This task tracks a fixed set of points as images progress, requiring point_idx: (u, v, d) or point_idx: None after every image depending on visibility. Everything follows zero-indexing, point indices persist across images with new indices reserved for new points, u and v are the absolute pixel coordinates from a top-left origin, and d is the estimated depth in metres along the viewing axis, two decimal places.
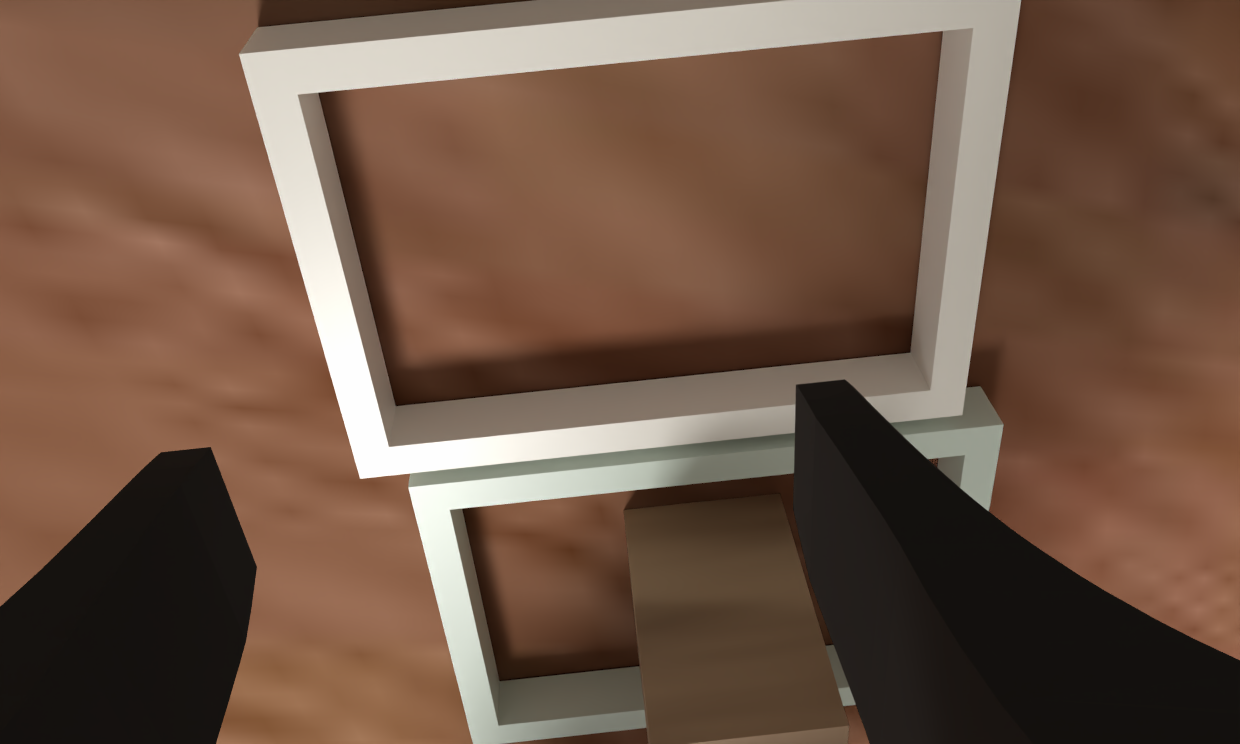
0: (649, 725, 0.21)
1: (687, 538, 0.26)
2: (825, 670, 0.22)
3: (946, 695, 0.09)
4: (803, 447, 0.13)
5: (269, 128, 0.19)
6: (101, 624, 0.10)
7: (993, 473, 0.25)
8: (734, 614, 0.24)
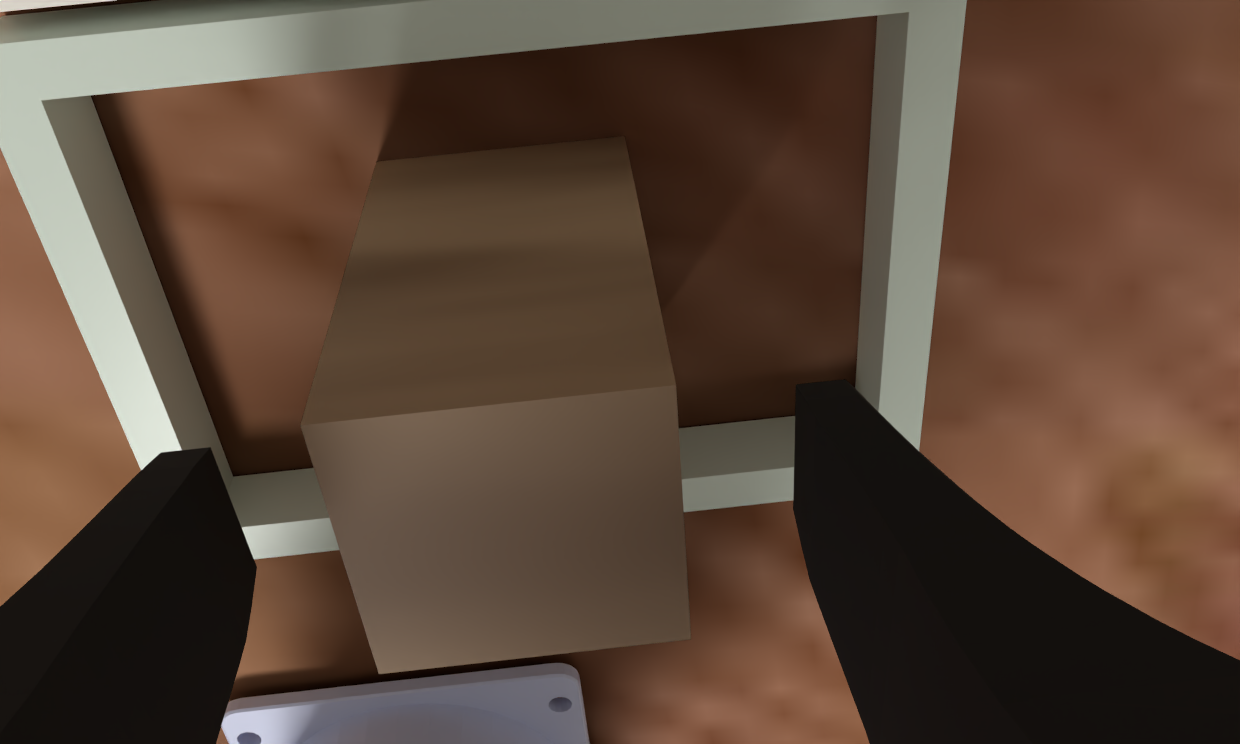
0: (310, 396, 0.12)
1: (464, 184, 0.16)
2: (649, 318, 0.12)
3: (946, 695, 0.09)
4: (803, 447, 0.13)
5: None
6: (101, 624, 0.10)
7: (958, 53, 0.15)
8: (512, 259, 0.14)
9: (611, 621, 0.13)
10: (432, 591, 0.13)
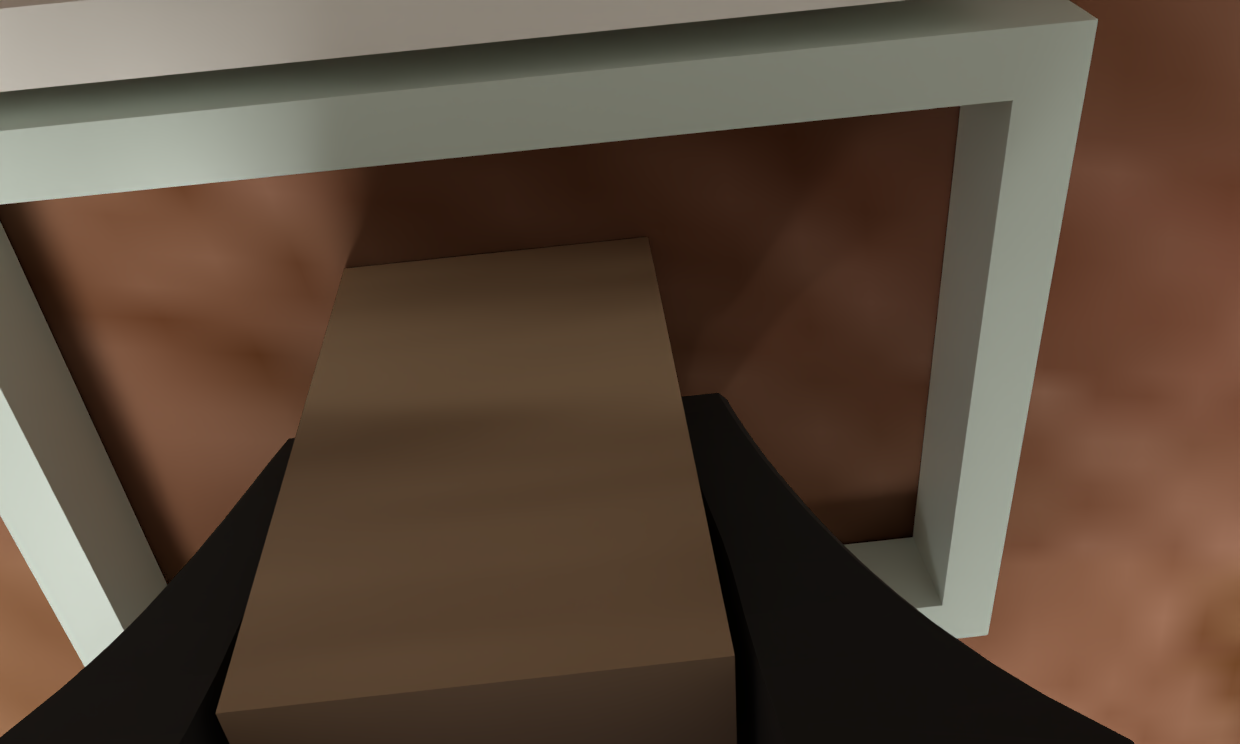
0: (234, 659, 0.09)
1: (451, 306, 0.13)
2: (692, 532, 0.09)
3: (758, 716, 0.08)
4: None
5: None
6: None
7: (1071, 149, 0.12)
8: (508, 428, 0.11)
9: None
10: None
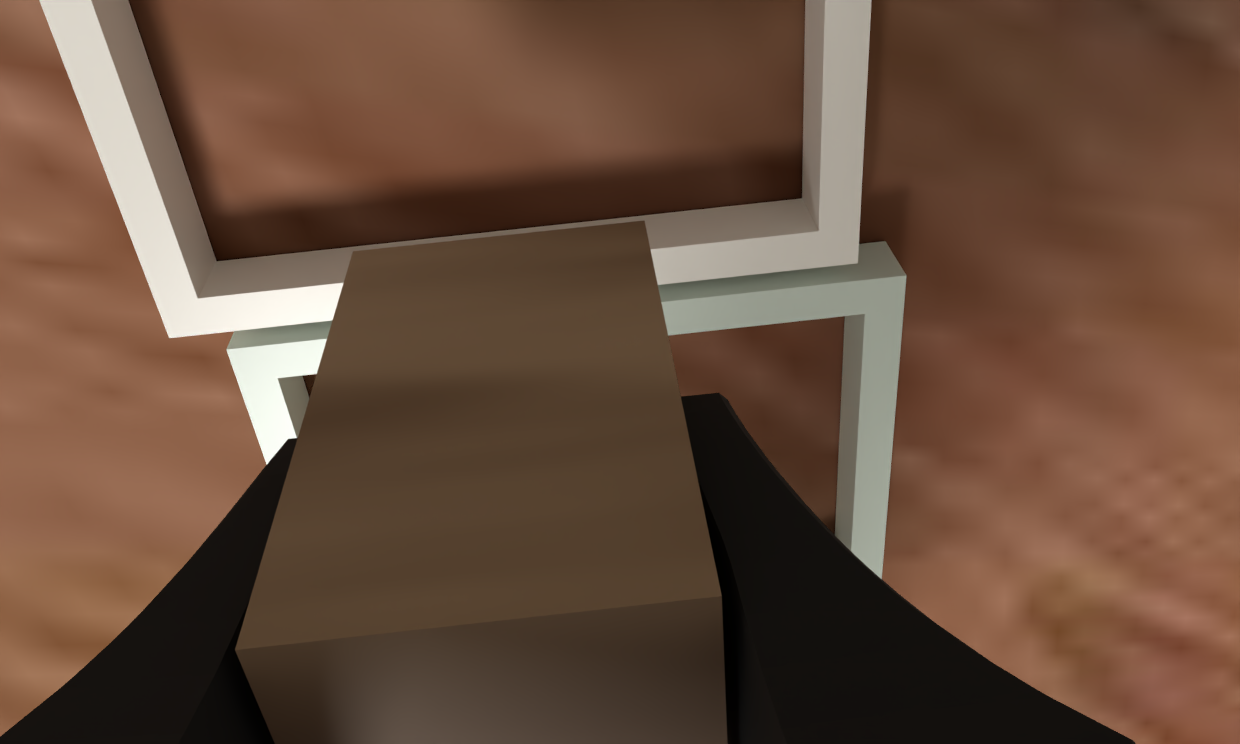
0: (251, 602, 0.09)
1: (455, 285, 0.13)
2: (683, 487, 0.10)
3: (759, 716, 0.08)
4: None
5: None
6: None
7: (899, 337, 0.22)
8: (510, 394, 0.11)
9: None
10: None
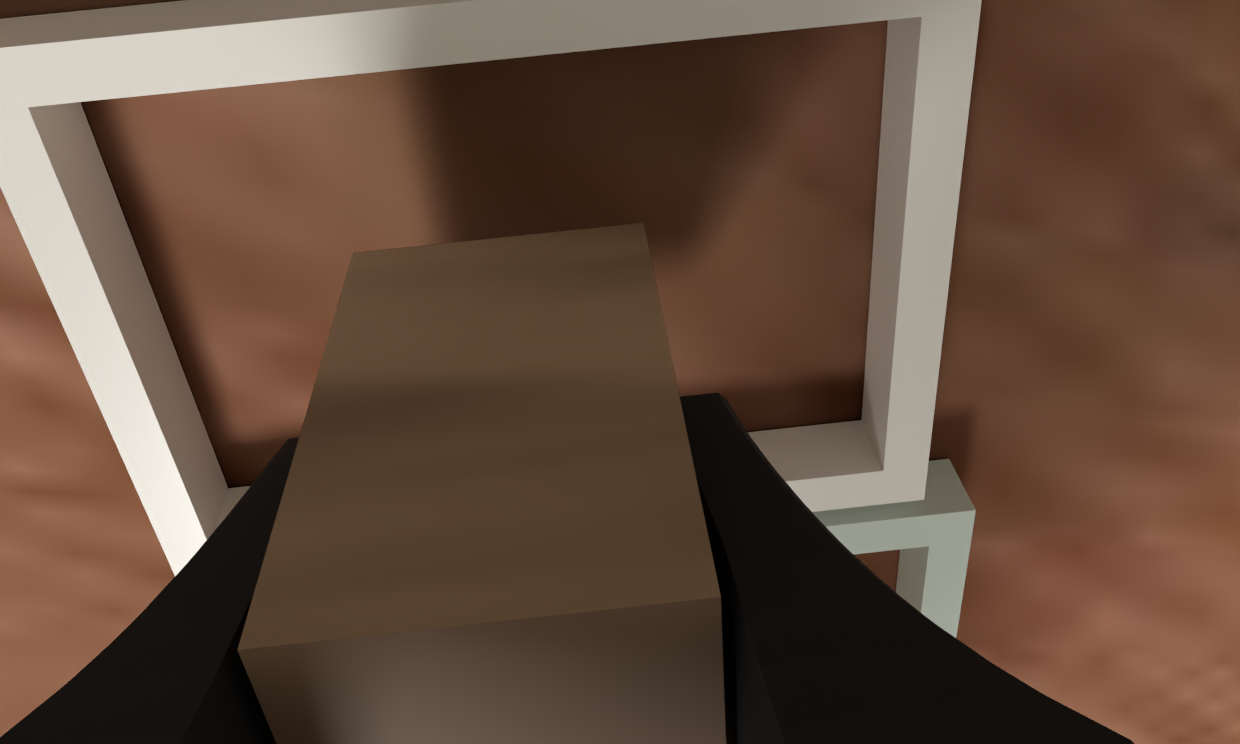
0: (253, 602, 0.09)
1: (454, 286, 0.13)
2: (682, 488, 0.10)
3: (758, 716, 0.08)
4: None
5: None
6: None
7: (964, 566, 0.20)
8: (510, 395, 0.11)
9: None
10: None
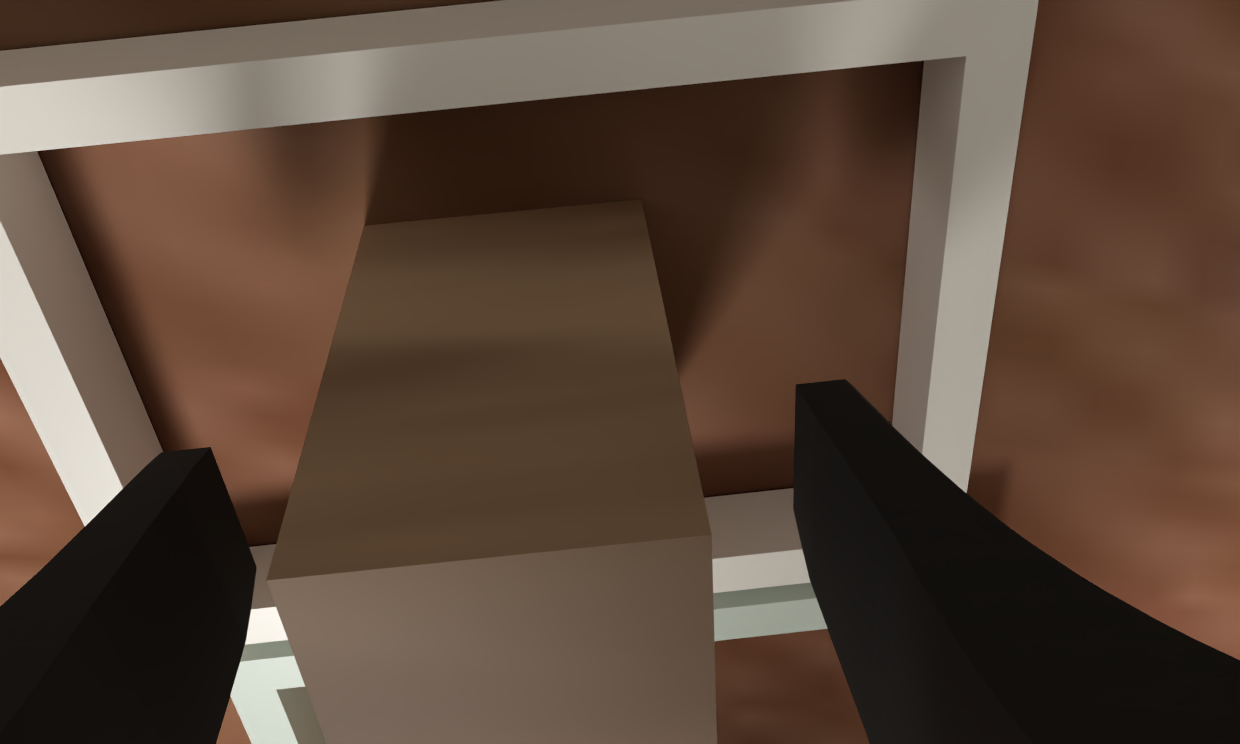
0: (280, 539, 0.10)
1: (461, 257, 0.14)
2: (677, 440, 0.11)
3: (946, 695, 0.09)
4: (803, 447, 0.13)
5: None
6: (101, 624, 0.10)
7: None
8: (516, 357, 0.12)
9: None
10: None
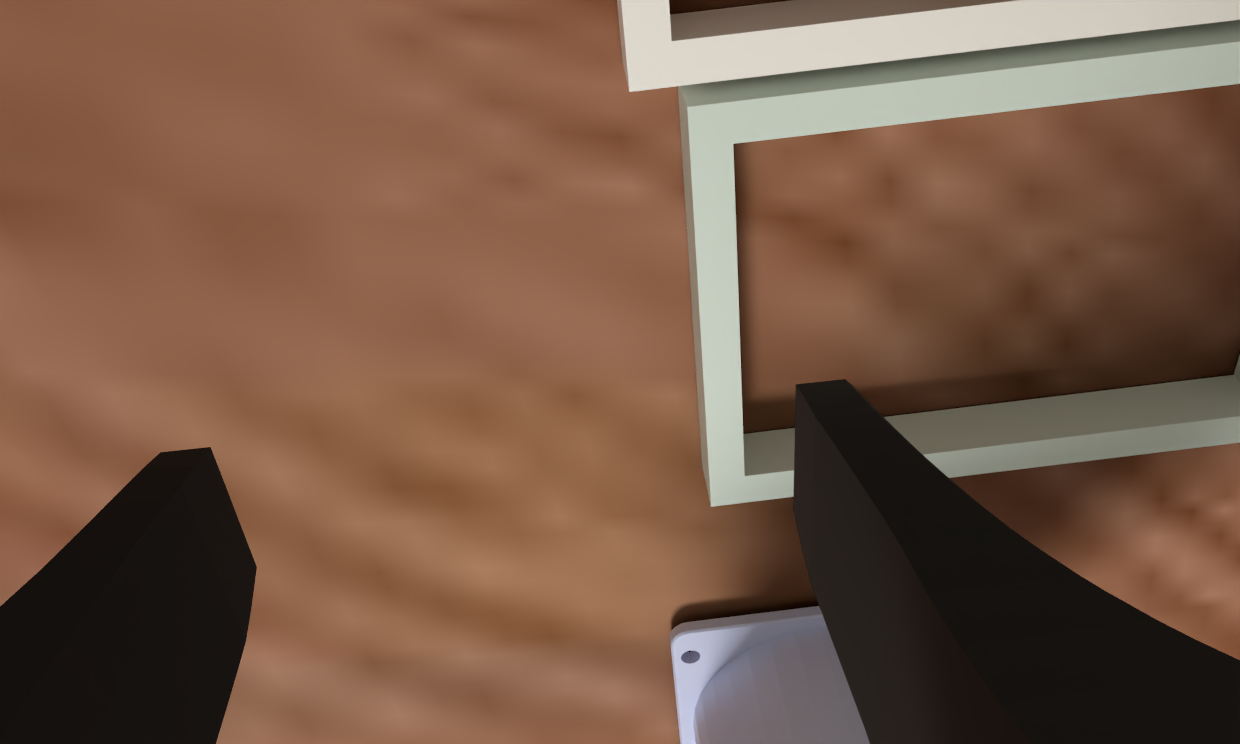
0: None
1: None
2: None
3: (946, 695, 0.09)
4: (803, 447, 0.13)
5: None
6: (101, 624, 0.10)
7: None
8: None
9: None
10: None
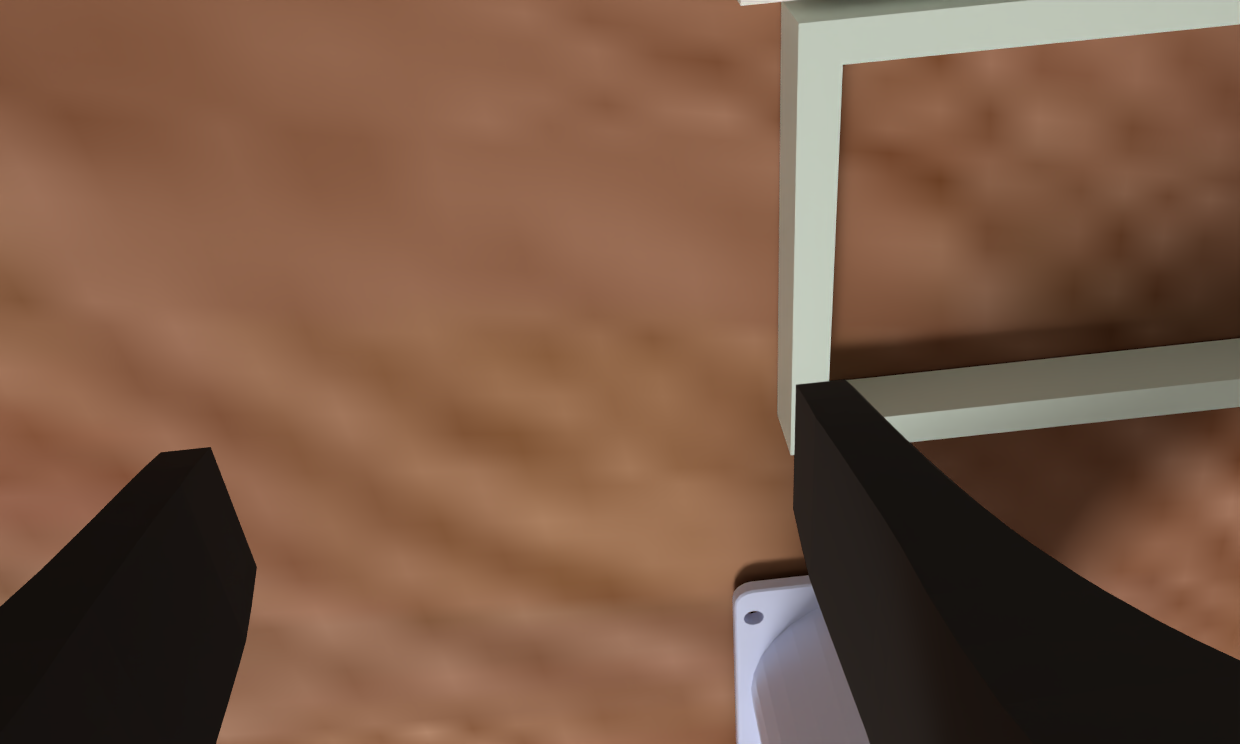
0: None
1: None
2: None
3: (946, 695, 0.09)
4: (803, 447, 0.13)
5: None
6: (101, 624, 0.10)
7: None
8: None
9: None
10: None
